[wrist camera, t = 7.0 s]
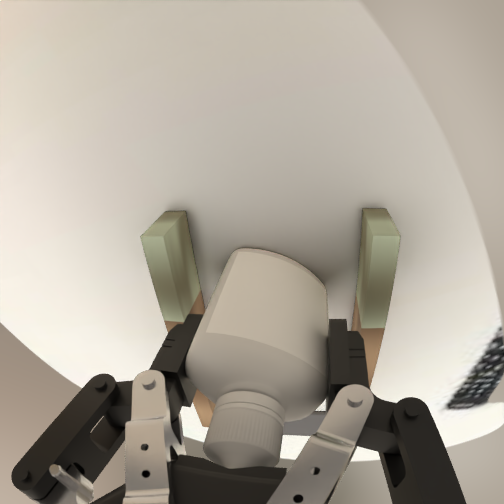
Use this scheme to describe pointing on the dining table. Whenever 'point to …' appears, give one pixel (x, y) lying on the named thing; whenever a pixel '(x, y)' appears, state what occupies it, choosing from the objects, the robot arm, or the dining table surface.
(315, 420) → the plate
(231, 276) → the eye dropper bottle
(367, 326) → the walnut channel
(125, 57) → the dining table surface
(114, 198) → the dining table surface
